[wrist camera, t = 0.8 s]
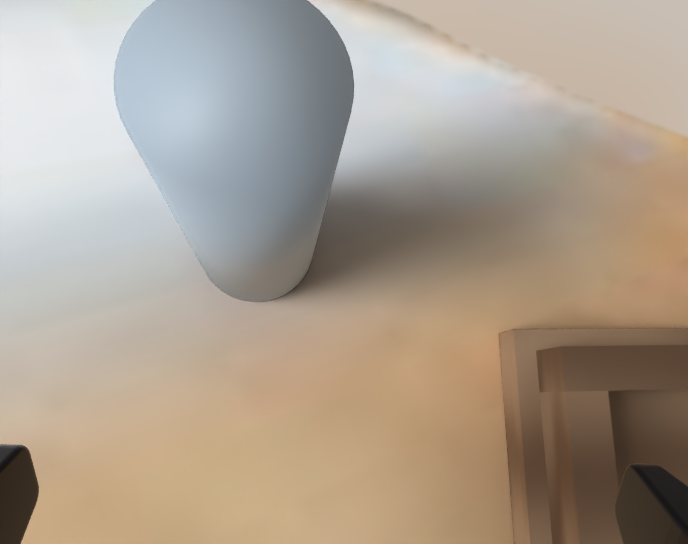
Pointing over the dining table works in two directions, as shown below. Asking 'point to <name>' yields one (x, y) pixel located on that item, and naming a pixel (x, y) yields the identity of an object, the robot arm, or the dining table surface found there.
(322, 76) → the blue-gray capsule
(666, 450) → the socket base
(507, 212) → the dining table surface
